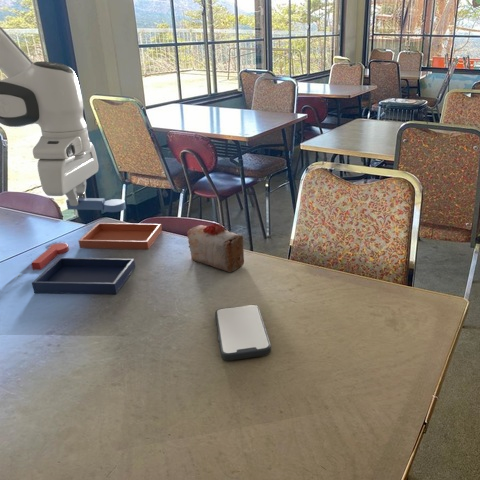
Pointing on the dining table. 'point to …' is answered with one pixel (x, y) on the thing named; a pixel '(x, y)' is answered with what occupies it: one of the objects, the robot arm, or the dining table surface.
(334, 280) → the dining table surface
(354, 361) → the dining table surface
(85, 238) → the terracotta tray
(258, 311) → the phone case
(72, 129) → the robot arm
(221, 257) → the food item
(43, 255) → the red spoon
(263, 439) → the dining table surface
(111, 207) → the blue spoon
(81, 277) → the navy tray
